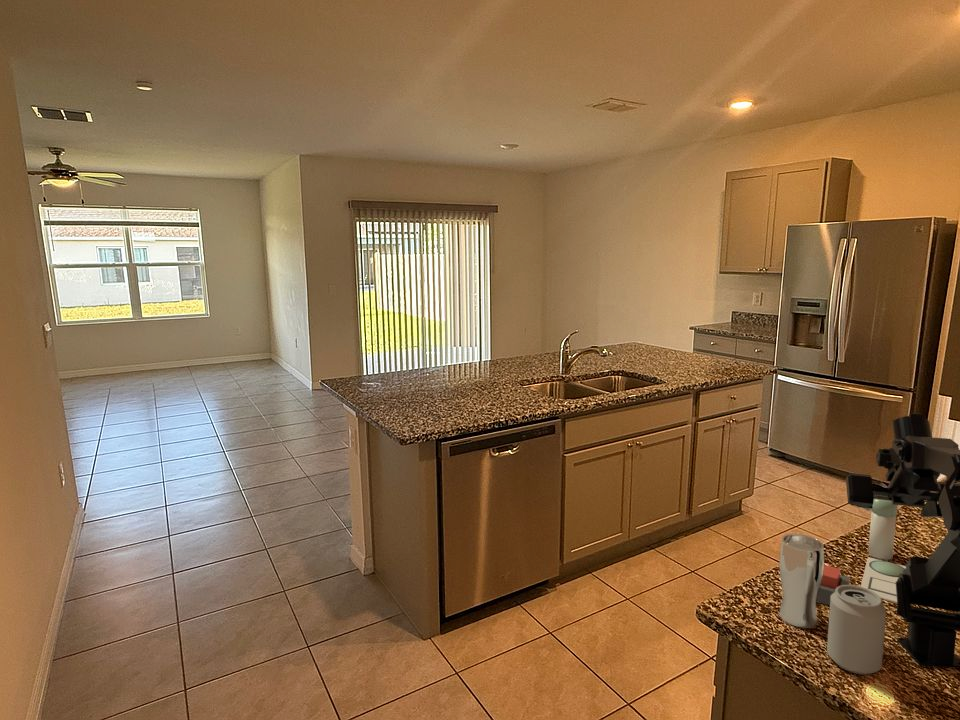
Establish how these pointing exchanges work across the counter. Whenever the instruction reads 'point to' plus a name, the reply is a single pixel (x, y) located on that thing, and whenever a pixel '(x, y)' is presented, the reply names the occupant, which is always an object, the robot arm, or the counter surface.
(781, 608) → the beer glass
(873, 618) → the can
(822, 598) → the button housing
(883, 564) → the colouring card
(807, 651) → the counter surface
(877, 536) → the ball
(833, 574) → the button
